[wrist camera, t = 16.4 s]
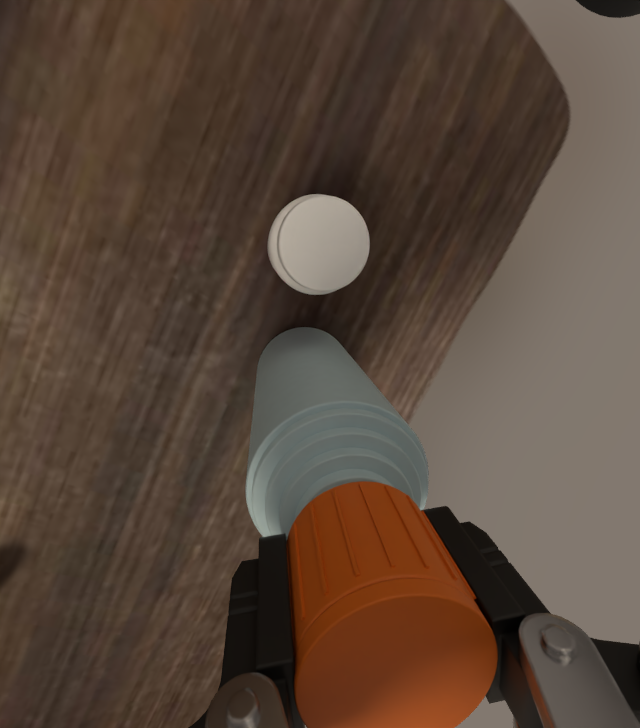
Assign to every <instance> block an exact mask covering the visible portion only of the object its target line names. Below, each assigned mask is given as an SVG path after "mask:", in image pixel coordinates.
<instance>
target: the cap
mask: <svg viewBox="0 0 640 728" xmlns="http://www.w3.org/2000/svg"><path fill="white" fill-rule="evenodd" d="M286 543H287V560H288V575H289V589H290V604H291V619H292V633H293V647H294V658H295V661H294V662H295V677H294V697H295V703H296V707H297V710H298V712H299V715H300V717H301V719H302V721H303V722H304V724H305V725H306V726H307V728H454V727H456V726H457V725H459V724H460V723H461V722H462V721H463V720H465V719H466V718H467V717H468V716H469V715H470V714H471V713H472V712H473V711H474V710H475V709H476V708H477V706H478V705H479V704H480V702H481V701H482V700H483V699H484V697H485V695H486V694H487V692H488V690H489V689H490V686H491V684H492V682H493V679H494V676H495V673H496V669H497V661H498V651H497V644H496V640H495V636H494V634H493V631H492V629H491V627H490V625H489V624H488V622H487V620H486V619H485V617H484V615H483V614H482V612H481V611H480V609H479V607H478V605H477V604H476V602H475V599H476V596H475V595H474V593H473V591H472V590H471V588H470V586H469V585H468V583H467V582H466V580H465V578H464V577H463V575H462V573H461V572H460V570H459V568H458V567H457V565H456V564H455V562H454V560H453V559H452V557H451V555H450V554H449V552H448V550H447V549H446V547H445V546H444V544H443V542H442V541H441V539H440V537H439V536H438V534H437V532H436V531H435V529H434V528H433V526H432V524H431V523H430V521H429V519H428V518H427V516H426V514H425V513H424V511H420V509H419V508H418V506H417V504H416V503H415V502H414V501H413V500H412V499H411V498H410V496H409V495H406V494H405V493H403V492H402V491H400V490H398V489H396V488H394V487H392V486H390V485H386V484H383V483H378V482H370V481H360V482H350V483H347V484H342V485H339V486H336V487H333V488H331V489H329V490H327V491H325V492H323V493H322V494H320V495H318V496H317V497H315V498H314V499H313V500H312V501H311V502H309V503H308V504H307V505H306V506H305V507H304V508H303V509H302V511H301V512H300V513H299V515H298V516H297V517H296V519H295V521H294V523H293V524H292V526H291V529H290V531H289V534H288V538H287V542H286Z"/></svg>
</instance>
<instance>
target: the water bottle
mask: <svg viewBox="0 0 640 728" xmlns="http://www.w3.org/2000/svg"><path fill="white" fill-rule="evenodd" d="M360 481H370V482H378V483H383V484H386V485H390V486H392V487H394V488H396V489H398V490H400V491H402V492H403V493H405V494H406V495H409V496H410V498H411V499H412V500H413V501H414V502H415V503H416V504H417V506H418V508H419V509H420V511H421V510H424V507H425V504H426V500H427V495H428V463H427V459H426V455H425V451H424V449H423V446H422V444H421V442H420V440H419V439H418V437H417V435H416V434H415V432H414V431H413V430H412V429H411V428H410V426H409V425H408V424H407V423H406V422H405V420H404V419H403V418H402V417H401V416H400V414H399V413H398V412H397V411H396V410H395V408H394V407H393V406H392V405H391V404H390V402H389V401H388V400H387V399H386V398H385V397H384V395H383V394H382V393H381V392H380V391H379V389H378V388H377V387H376V386H375V385H374V383H373V382H372V381H371V380H370V379H369V377H368V376H367V375H366V374H365V373H364V371H363V370H362V369H361V368H360V367H359V365H358V364H357V363H356V362H355V361H354V360H353V358H352V357H351V356H350V355H349V354H348V352H347V351H346V350H345V349H344V348H343V346H342V345H341V344H340V343H339V342H338V341H337V340H336V339H335V338H334V337H333V336H331V335H330V334H328V333H326V332H325V331H322V330H319V329H316V328H311V327H299V328H293V329H290V330H287V331H285V332H283V333H281V334H279V335H278V336H276V337H275V338H274V339H272V340H271V341H270V342H269V344H268V345H267V346H266V347H265V349H264V350H263V352H262V354H261V356H260V359H259V362H258V367H257V377H256V387H255V397H254V407H253V417H252V427H251V437H250V447H249V457H248V467H247V477H246V502H247V506H248V510H249V513H250V516H251V518H252V520H253V523H254V524H255V526H256V527H257V529H258V531H259V532H260V533H261V535H262V536H263V537H267V536H272V535H278V534H284V533H285V534H286V539H287V538H288V534H289V531H290V529H291V526H292V524H293V523H294V521H295V519H296V517H297V516H298V515H299V513H300V512H301V511H302V509H303V508H304V507H305V506H306V505H307V504H308V503H309V502H311V501H312V500H313V499H314V498H315V497H317V496H318V495H320V494H322V493H323V492H325V491H327V490H329V489H331V488H333V487H336V486H339V485H342V484H347V483H350V482H360Z"/></svg>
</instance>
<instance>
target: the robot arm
mask: <svg viewBox="0 0 640 728" xmlns="http://www.w3.org/2000/svg"><path fill="white" fill-rule="evenodd" d="M421 511H424V513H425V514H426V516H427V518H428V519H429V521H430V523H431V524H432V526H433V528H434V529H435V531H436V532H437V534H438V536H439V537H440V539H441V541H442V542H443V544H444V546H445V547H446V549H447V550H448V552H449V554H450V555H451V557H452V559H453V560H454V562H455V564H456V565H457V567H458V568H459V570H460V572H461V573H462V575H463V577H464V578H465V580H466V582H467V583H468V585H469V586H470V588H471V590H472V591H473V593H474V595H475V596H476V599H475V602H476V604H477V605H478V607H479V609H480V611H481V612H482V614H483V615H484V617H485V619H486V620H487V622H488V624H489V625H490V627H491V629H492V631H493V634H494V636H495V640H496V644H497V651H498V661H497V669H496V673H495V676H494V679H493V682H492V684H491V686H490V689H489V690H488V692H487V694H486V695H485V696H486V697H487V699H488V702H489V703H494V702H498V701H503V700H505V701H506V702H507V704H508V706H509V708H510V710H511V712H512V714H513V717H514V718H513V728H640V643H639V645H637V644H629V643H620V642H612V641H603V640H597V639H593V638H590V637H588V635H587V634H586V633H585V632H584V631H582V629H580V628H579V627H577V626H576V625H575V624H573V623H572V622H570V621H568V620H566V619H564V618H562V617H560V616H557V615H553V614H551V613H550V612H549V611H548V610H547V609H546V607H545V606H544V605H543V604H542V602H541V601H540V600H539V599H538V597H537V596H536V595H535V593H534V592H533V591H532V590H531V588H530V587H529V586H528V585H527V583H526V582H525V581H524V580H523V578H522V577H521V576H520V574H519V573H518V572H517V571H516V569H515V568H514V567H513V566H512V564H511V563H509V562H508V560H507V558H506V557H505V556H504V554H503V553H502V552H501V551H499V550H498V547H497V546H496V545H495V543H494V542H493V541H492V539H491V538H490V537H489V536H488V535H487V533H486V532H484V531H483V530H481V529H480V528H478V527H477V526H475V525H474V524H472V523H471V522H464V523H459V521H458V520H457V519H456V517H455V516H454V514H453V513H452V512H451V510H450V509H449V508H448V507H447V506H443V507H437V508H432V509H426V510H421ZM286 542H287V539H286V534H285V533H284V534H278V535H272V536H267V537H261V538H259V559H253V560H247V561H242V562H241V564H240V565H239V567H238V569H237V571H236V572H235V574H234V576H233V578H232V584H231V594H230V603H229V616H228V621H227V630H226V639H225V649H224V658H223V667H222V676H221V682H220V686H219V689H218V692H217V693H216V694H215V696H214V698H213V699H212V701H211V703H210V705H209V708H208V709H207V711H206V712H205V713H204V714H203V715H202V717H201V718H200V719H199V720H198V721H196V722H195V723H194V724H193V725H192V726H190V727H189V728H305V724H304V722H303V721H302V719H301V717H300V715H299V712H298V710H297V707H296V703H295V697H294V677H295V662H294V661H295V658H294V647H293V633H292V619H291V604H290V589H289V575H288V560H287V543H286Z"/></svg>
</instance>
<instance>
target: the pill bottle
mask: <svg viewBox="0 0 640 728" xmlns="http://www.w3.org/2000/svg"><path fill="white" fill-rule="evenodd" d="M369 249H370V239H369V232H368V229H367V226H366V223H365V221H364V219H363V217H362V216H361V215H360V213H359V212H358V211H357V210H356V209H355V208H354V207H353V206H352V205H351V204H349V203H348V202H346V201H344V200H342V199H340V198H337V197H334V196H328V195H323V194H311V195H306V196H302V197H300V198H298V199H295V200H294V201H292V202H290V203H289V204H288V205H287V206H285V207H284V208H283V209H282V210H281V211H280V213H279V214H278V215H277V217H276V218H275V220H274V222H273V224H272V227H271V229H270V233H269V237H268V256H269V259H270V262H271V264H272V266H273V268H274V270H275V271H276V272H277V274H278V275H279V277H280V278H281V279H282V280H283V281H284V282H285V283H286V284H288V285H289V286H290V287H292V288H293V289H295V290H297V291H299V292H302V293H305V294H310V295H322V294H328V293H331V292H334V291H336V290H338V289H340V288H343V287H345V286H346V285H348V284H350V283H351V282H352V281H353V280H354V279H355V278H356V277H357V276H358V275H359V274H360V273H361V271H362V270H363V268H364V266H365V264H366V261H367V258H368V254H369Z"/></svg>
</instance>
